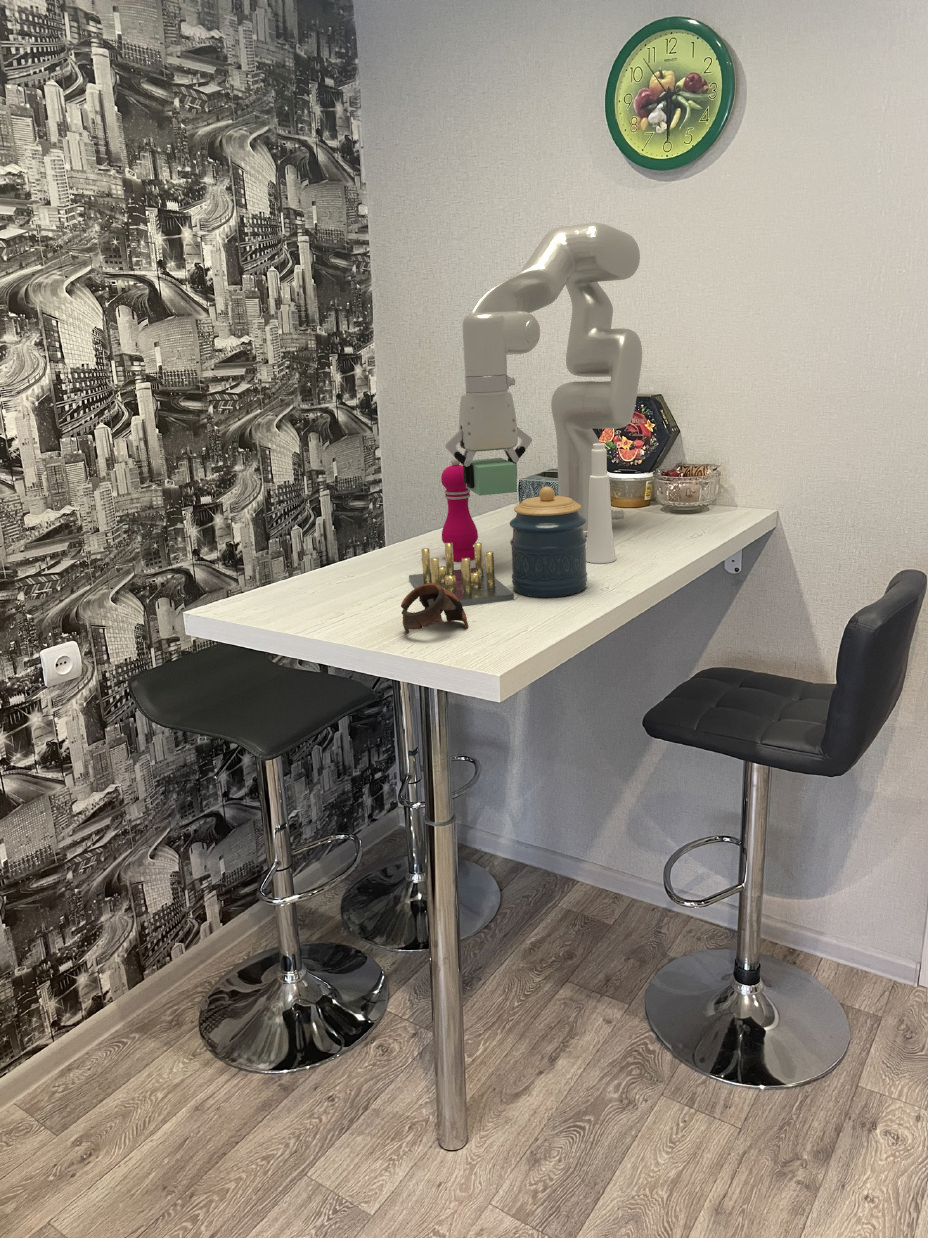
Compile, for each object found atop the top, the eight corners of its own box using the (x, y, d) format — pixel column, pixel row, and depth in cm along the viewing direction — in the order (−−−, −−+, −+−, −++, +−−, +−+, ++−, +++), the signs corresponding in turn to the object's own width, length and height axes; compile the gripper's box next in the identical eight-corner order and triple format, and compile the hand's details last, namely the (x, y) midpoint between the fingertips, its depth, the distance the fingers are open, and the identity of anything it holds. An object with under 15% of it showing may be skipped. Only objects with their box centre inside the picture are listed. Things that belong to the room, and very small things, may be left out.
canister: (541, 603, 153) (538, 496, 148) (497, 587, 164) (493, 487, 158) (603, 588, 159) (602, 485, 154) (556, 574, 170) (554, 477, 165)
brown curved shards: (479, 636, 140) (455, 597, 135) (424, 667, 141) (398, 629, 136) (461, 597, 150) (437, 559, 145) (410, 626, 151) (385, 589, 146)
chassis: (482, 572, 174) (481, 535, 172) (514, 599, 156) (512, 558, 154) (409, 580, 171) (406, 543, 169) (432, 609, 153) (429, 568, 151)
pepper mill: (475, 562, 182) (470, 459, 176) (439, 562, 184) (432, 460, 178) (482, 553, 189) (477, 453, 183) (447, 553, 190) (441, 454, 184)
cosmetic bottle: (621, 561, 176) (620, 444, 170) (591, 565, 175) (589, 446, 168) (608, 554, 182) (607, 440, 175) (579, 558, 181) (577, 443, 174)
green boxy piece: (501, 484, 177) (500, 457, 176) (517, 492, 168) (516, 464, 167) (466, 487, 176) (464, 460, 174) (479, 495, 167) (478, 467, 165)
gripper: (526, 382, 172) (529, 478, 177) (434, 388, 168) (440, 486, 173) (539, 383, 165) (542, 484, 170) (443, 390, 161) (449, 492, 166)
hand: (490, 484), depth 172 cm, fingers closed on green boxy piece, 7 cm apart
